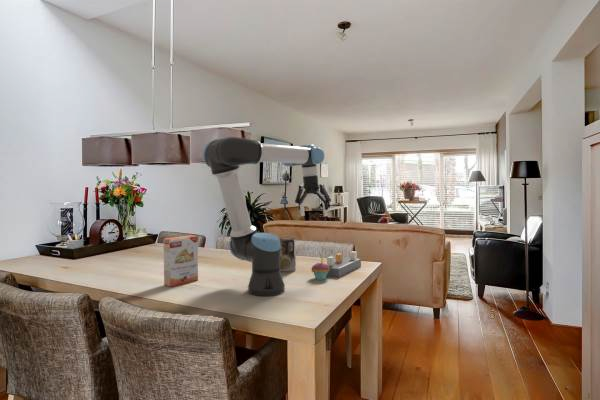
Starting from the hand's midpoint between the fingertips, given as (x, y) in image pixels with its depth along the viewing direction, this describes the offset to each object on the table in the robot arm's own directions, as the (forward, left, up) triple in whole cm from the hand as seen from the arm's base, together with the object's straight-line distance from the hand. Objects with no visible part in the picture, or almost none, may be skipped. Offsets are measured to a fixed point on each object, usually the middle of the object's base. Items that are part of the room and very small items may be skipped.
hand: (314, 216), depth 181 cm
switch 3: (+13, -16, -23) cm, 31 cm away
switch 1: (-5, -12, -23) cm, 27 cm away
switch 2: (+4, -12, -23) cm, 27 cm away
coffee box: (-10, +11, -28) cm, 31 cm away
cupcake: (-15, -12, -28) cm, 34 cm away
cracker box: (-54, +38, -28) cm, 71 cm away
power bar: (+4, -14, -28) cm, 31 cm away
